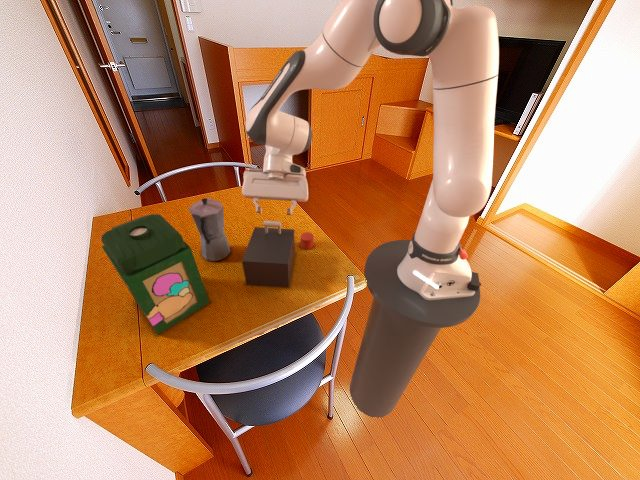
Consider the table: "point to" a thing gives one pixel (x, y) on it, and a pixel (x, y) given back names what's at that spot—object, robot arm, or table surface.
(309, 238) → the coffee capsule
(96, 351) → the table surface
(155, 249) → the container
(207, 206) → the moka pot
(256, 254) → the lid
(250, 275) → the dark carry box
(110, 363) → the table surface
